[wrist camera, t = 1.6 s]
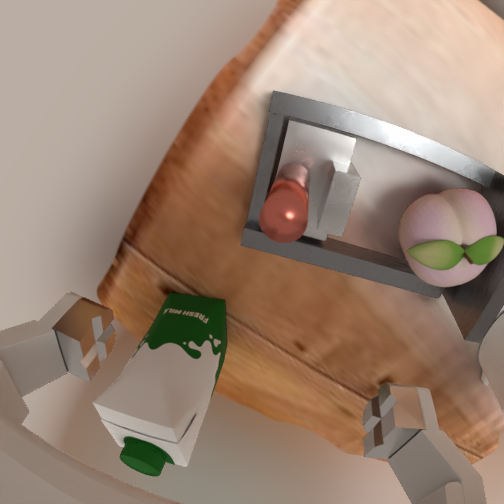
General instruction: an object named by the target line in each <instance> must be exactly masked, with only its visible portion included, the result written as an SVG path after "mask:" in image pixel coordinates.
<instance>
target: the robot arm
mask: <svg viewBox="0 0 504 504" xmlns="http://www.w3.org/2000/svg"><path fill="white" fill-rule="evenodd" d="M113 319H114V317H113V310H111V309H110V308H108V307H105V306H103V305H101V304H98V303H96V302H94V301H91V300H89V299H87V298H84V297H82V296H79V295H77V294H75V293H73V292H70V293H67V294H66V295H64V297H62V298H61V299H60V300H59V302H57V303H56V304H55V305H54V307H52V308H51V309H50V310H49V311H48V312H47V313H46V314H45V315H44V316H43V318H41V319H40V320H39V321H36V320H33V321H30V322H27V323H24V324H21V325H17V326H14V327H11V328H8V329H5V330H2V331H0V504H182V503H179V502H176V501H173V500H170V499H167V498H164V497H161V496H158V495H156V494H153V493H150V492H148V491H145V490H142V489H140V488H137V487H135V486H132V485H130V484H128V483H125V482H123V481H120V480H118V479H116V478H114V477H112V476H110V475H108V474H105V473H103V472H101V471H99V470H97V469H95V468H93V467H91V466H89V465H87V464H85V463H83V462H82V461H80V460H78V459H76V458H74V457H72V456H71V455H69V454H67V453H65V452H63V451H62V450H60V449H58V448H57V447H55V446H53V445H52V444H50V443H48V442H47V441H45V440H44V439H42V438H41V437H39V436H37V435H36V434H34V433H33V432H31V431H30V430H28V429H27V428H26V427H24V426H23V425H21V424H22V423H23V421H24V419H25V418H26V417H27V415H28V413H29V409H28V407H27V405H26V404H25V402H24V400H23V399H22V397H23V396H25V395H27V394H29V393H31V392H32V391H34V390H36V389H38V388H40V387H42V386H44V385H46V384H48V383H50V382H52V381H54V380H56V379H58V378H60V377H61V376H63V375H65V374H67V372H69V373H71V374H73V375H75V376H77V377H79V378H82V379H84V380H86V381H88V382H91V380H92V379H93V377H94V376H95V375H96V373H97V372H98V370H99V369H100V360H102V359H104V358H107V357H108V356H109V354H110V352H111V351H112V348H113V345H114V343H115V336H116V335H115V329H114V327H113V326H112V325H111V322H112V320H113ZM478 358H479V363H480V365H481V367H482V376H481V380H482V382H483V384H484V385H490V387H491V389H492V391H493V393H494V395H495V397H496V399H497V401H498V403H499V405H500V407H501V410H502V411H503V412H504V313H503V314H502V315H501V316H500V317H499V318H498V319H497V320H496V321H495V323H494V324H493V325H492V326H491V328H490V329H489V330H488V332H487V334H486V335H485V337H484V339H483V341H482V343H481V346H480V349H479V355H478ZM363 428H364V429H365V430H366V432H367V433H368V434H367V435H366V436H365V437H364V439H363V443H364V457H369V458H380V459H388V462H389V464H390V466H391V468H392V469H393V471H394V473H395V475H396V476H397V478H398V480H399V482H400V483H401V485H402V487H403V489H404V491H405V492H406V494H407V496H408V498H409V499H410V501H411V503H412V504H486V497H485V491H484V485H483V480H482V477H481V476H480V474H479V473H478V472H477V471H476V469H475V468H474V467H473V466H472V465H471V463H470V462H469V461H468V460H467V458H466V457H465V456H464V455H463V454H462V452H461V451H460V450H459V449H458V448H457V446H456V445H455V444H454V443H453V442H452V441H451V439H450V438H449V437H448V436H447V435H446V433H445V432H444V431H442V430H439V426H438V422H437V417H436V413H435V409H434V404H433V400H432V396H431V393H430V390H429V389H428V388H423V387H413V386H407V385H399V384H392V383H384V384H383V385H381V387H380V388H379V389H378V396H376V397H374V398H372V399H371V400H370V401H369V402H368V404H367V405H366V408H365V410H364V413H363Z"/></svg>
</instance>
